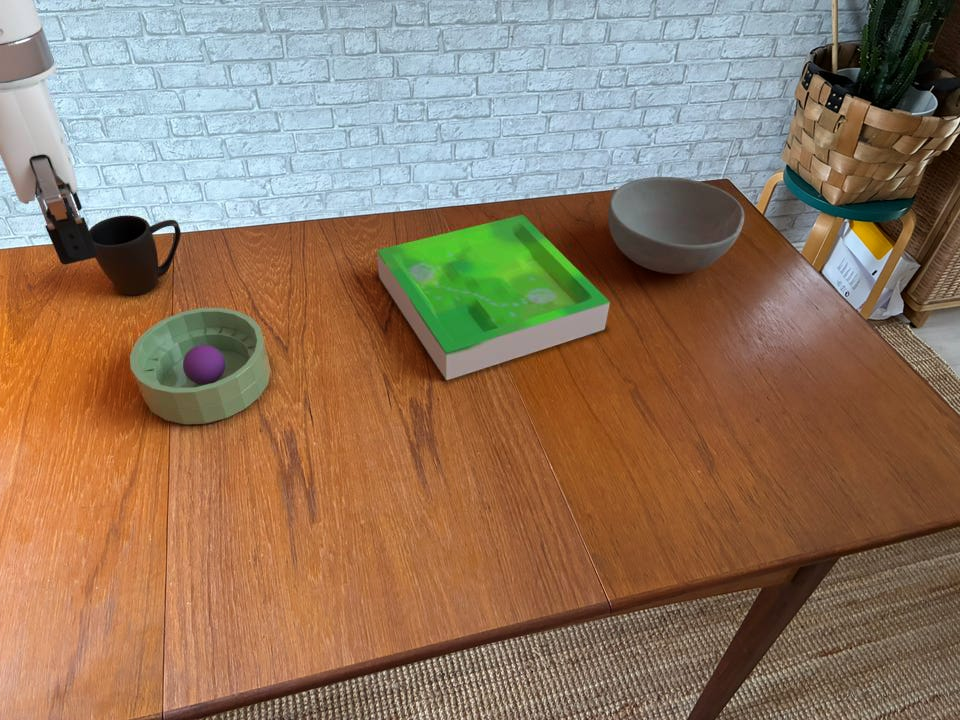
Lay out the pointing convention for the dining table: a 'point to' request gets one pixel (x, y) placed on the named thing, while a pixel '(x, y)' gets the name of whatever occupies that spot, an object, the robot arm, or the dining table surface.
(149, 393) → the green bowl
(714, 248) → the bowl
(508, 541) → the dining table surface
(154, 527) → the dining table surface
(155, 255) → the mug
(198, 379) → the ball
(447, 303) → the tray
